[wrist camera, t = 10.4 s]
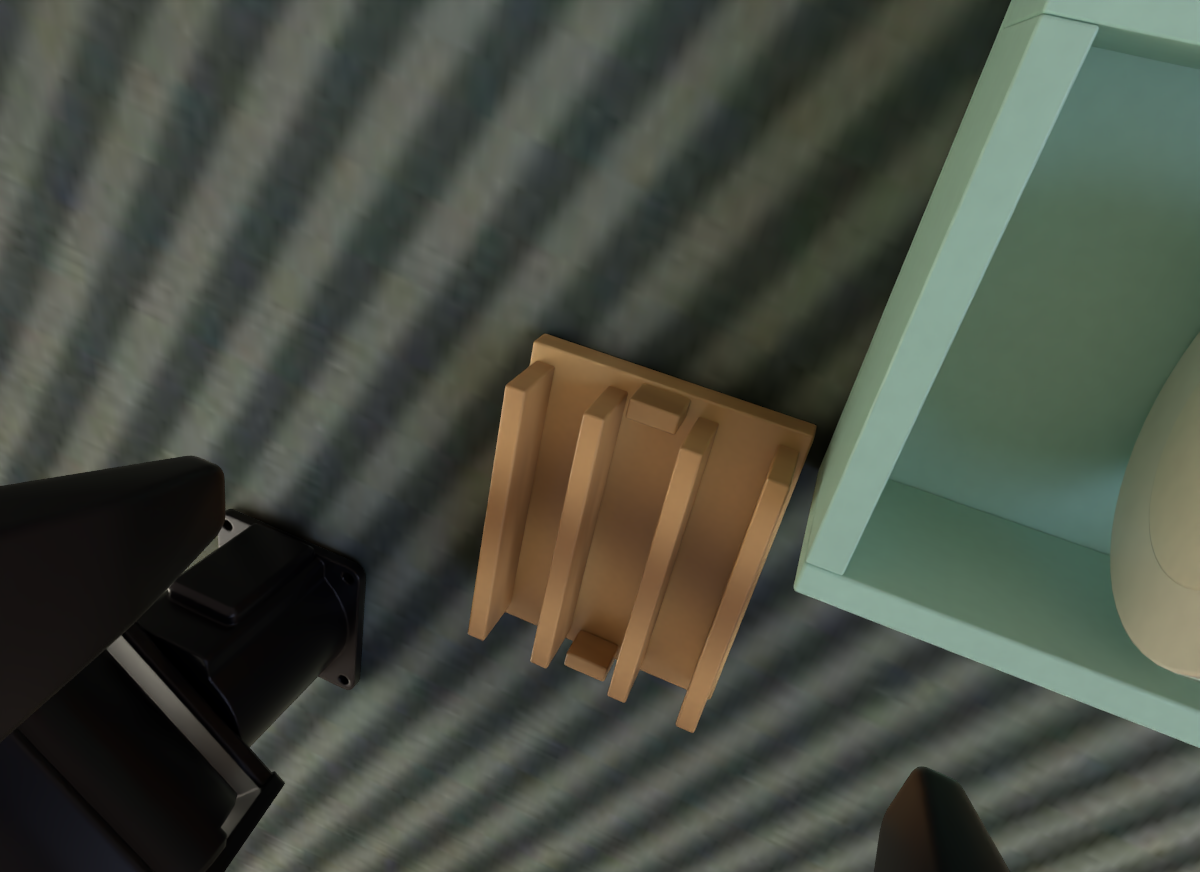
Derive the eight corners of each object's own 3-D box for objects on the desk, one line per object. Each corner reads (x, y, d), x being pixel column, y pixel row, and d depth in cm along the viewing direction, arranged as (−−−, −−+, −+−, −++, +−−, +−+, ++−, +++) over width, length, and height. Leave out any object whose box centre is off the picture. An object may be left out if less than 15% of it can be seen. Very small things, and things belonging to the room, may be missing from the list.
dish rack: (715, 683, 25) (695, 748, 23) (499, 592, 27) (459, 643, 24) (818, 424, 20) (806, 472, 18) (544, 331, 22) (500, 364, 19)
